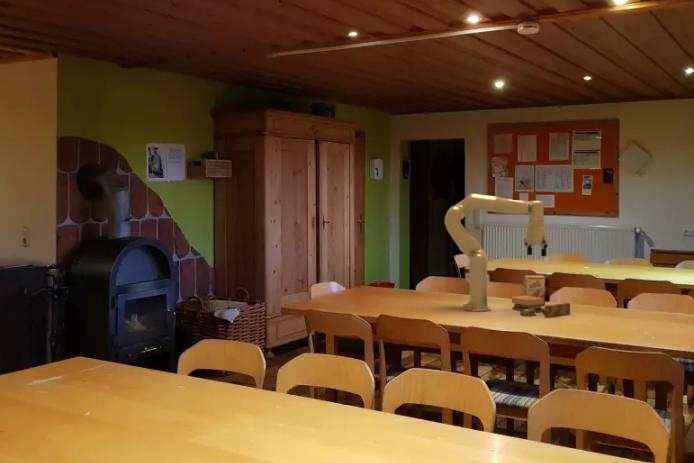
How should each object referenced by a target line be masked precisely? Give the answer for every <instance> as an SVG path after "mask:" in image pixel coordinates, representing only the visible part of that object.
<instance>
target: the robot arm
mask: <svg viewBox="0 0 694 463" xmlns="http://www.w3.org/2000/svg"><path fill="white" fill-rule="evenodd" d="M475 210H480V211H483V212H484V211H486V212H491V213H492V212H493V213H503V214H508V215H509V214H510V215H516V216H523V215H527V214H528V221H527V223H528V226H527V229H526V237H525V238H523V243H524V245H525V246H526V248H527V250H526V254H527V256H532V255H533V247H532V246H540V247H541V250H540V255H541V257H546V256H547V249H548V247H549V246H550V242H551V240H550V239H548V238H547V235H546V229H545V225H544V224H545V223H544V222H545V221H544V202H543V201H542V200H529V201H528V200H514V199H508V198H503V197H500V196H495V195H487V194H480V193H475V192H474V193H470V194H468V195H466V197H465V198H463V199H462V200H461V201H459V202H457V203H456V204H455V205H453V206H451V207H449V209H448V210H447V212H446V214H445V216H444V225H445V228H446V230H447V232H448V234H449V235H450V237H451V238H452V240H453V241H454V243H455V244H456V245H457V247H458V248H459V250H460V251H461V252H462V253H463V254H465V256H466V257H467V258H468V259H469V262H468V269H469V270H468V271H469V301H468V302H467V303H463V304H462V307H463V308H466V309H467V310H468V311H471V312H488V311H490V310H491V307H490V306H488V262H489V258H488V255H487V253H486V251H485V250H484V249H483V247H482V246H481V245H480V243H479V242H478V240H477V239H476V237H474V236H472V235H470V234H469V233H468V231H467V230H466V228H465V227H464V226H463V224H462V221H461V220H463V219H464V218H465V217H467V216H468V215H469V214H471V213H472V212H473V211H474V212H475Z"/></svg>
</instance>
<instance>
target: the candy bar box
mask: <svg viewBox="0 0 694 463" xmlns="http://www.w3.org/2000/svg"><path fill="white" fill-rule="evenodd" d="M523 285H524V287H523V288H524V290H523V291H524V293H523V296H526V295H527V296H533V297H538V298H544V304H540V305H541V306H546V276H545V275H524V284H523Z"/></svg>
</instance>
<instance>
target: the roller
mask: <svg viewBox="0 0 694 463" xmlns="http://www.w3.org/2000/svg"><path fill="white" fill-rule="evenodd" d="M530 314H536V311H535V310H534V309H533V308H530V309H523V310H520V315H521V317H529V316H528V315H530Z"/></svg>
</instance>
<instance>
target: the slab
mask: <svg viewBox="0 0 694 463" xmlns="http://www.w3.org/2000/svg"><path fill="white" fill-rule="evenodd" d="M511 303H512V304H515V303H516V304H521V305H526V306H532V305H540V304H544V298H538V297H533V296H527V295H526V296H524V295H519V296H512V297H511Z"/></svg>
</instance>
